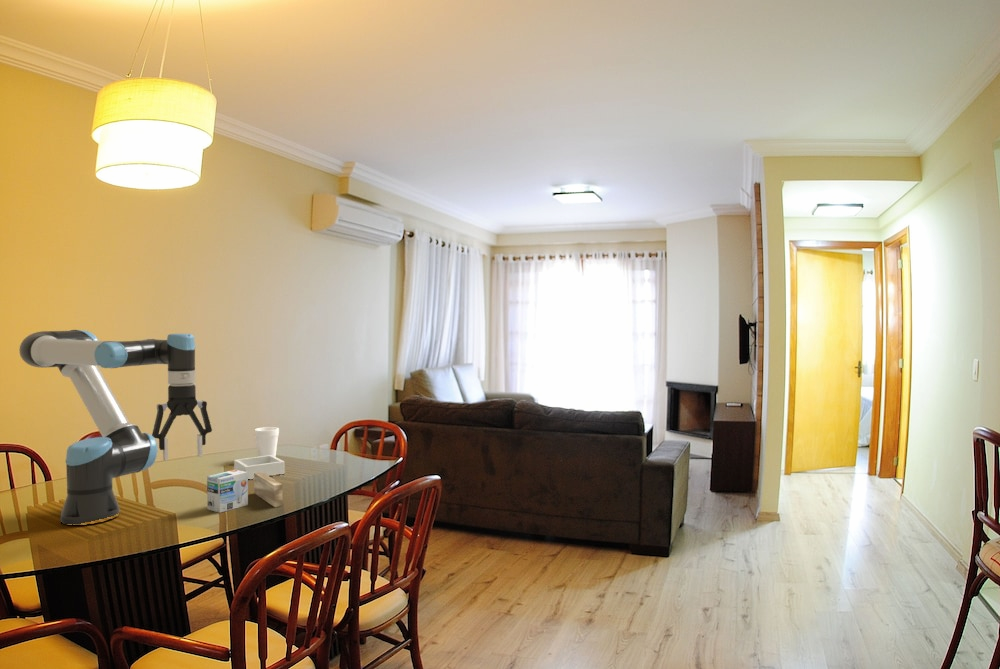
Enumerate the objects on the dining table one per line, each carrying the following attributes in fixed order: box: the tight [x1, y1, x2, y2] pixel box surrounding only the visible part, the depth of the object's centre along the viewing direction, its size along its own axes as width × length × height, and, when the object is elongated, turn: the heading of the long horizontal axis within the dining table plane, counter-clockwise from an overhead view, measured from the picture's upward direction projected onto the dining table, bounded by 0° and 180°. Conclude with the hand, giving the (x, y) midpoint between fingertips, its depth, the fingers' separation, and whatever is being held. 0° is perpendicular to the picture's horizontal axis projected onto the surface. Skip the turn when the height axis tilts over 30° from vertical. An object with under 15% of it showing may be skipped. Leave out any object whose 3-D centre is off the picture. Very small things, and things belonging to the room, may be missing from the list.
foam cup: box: [254, 426, 280, 457], centre depth 279 cm, size 10×9×13 cm
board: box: [253, 472, 284, 508], centre depth 222 cm, size 2×20×7 cm, turn 38°
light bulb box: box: [206, 469, 249, 514], centre depth 213 cm, size 11×7×11 cm, turn 148°
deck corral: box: [233, 455, 286, 480], centre depth 256 cm, size 14×14×5 cm
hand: (183, 458), depth 205 cm, fingers open, 9 cm apart
